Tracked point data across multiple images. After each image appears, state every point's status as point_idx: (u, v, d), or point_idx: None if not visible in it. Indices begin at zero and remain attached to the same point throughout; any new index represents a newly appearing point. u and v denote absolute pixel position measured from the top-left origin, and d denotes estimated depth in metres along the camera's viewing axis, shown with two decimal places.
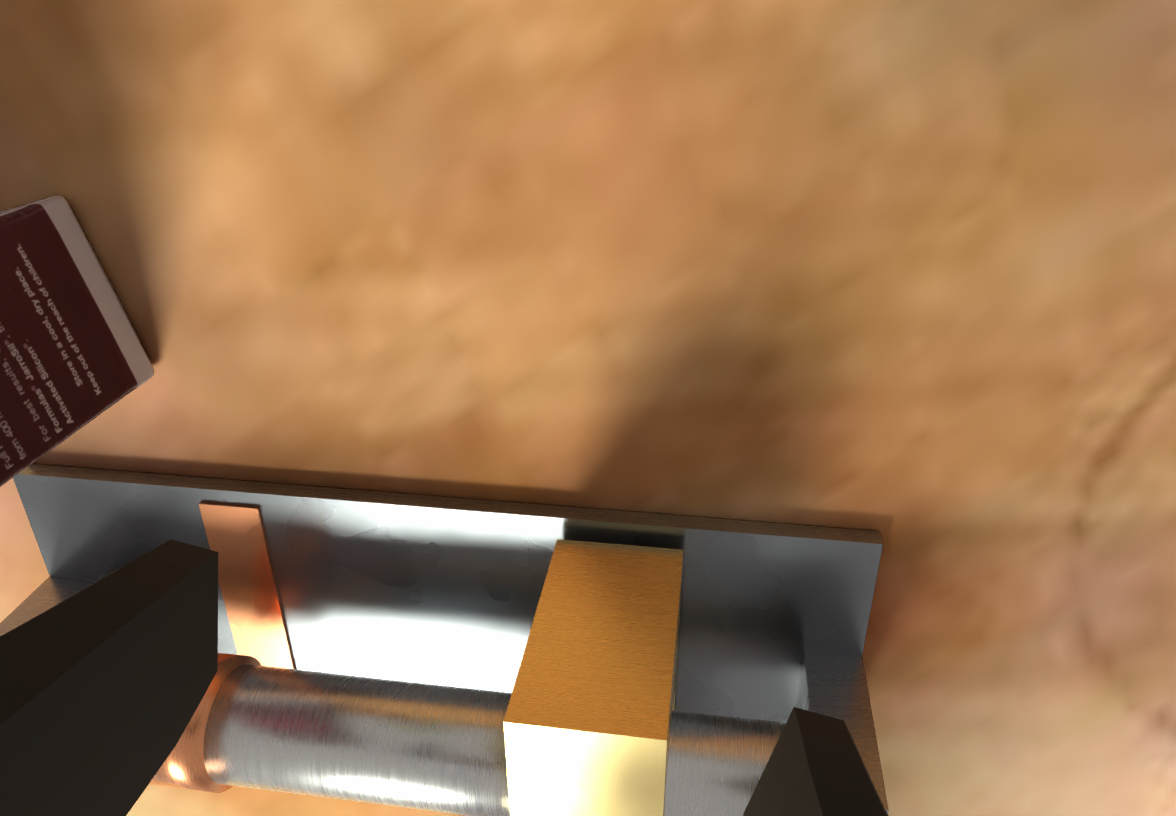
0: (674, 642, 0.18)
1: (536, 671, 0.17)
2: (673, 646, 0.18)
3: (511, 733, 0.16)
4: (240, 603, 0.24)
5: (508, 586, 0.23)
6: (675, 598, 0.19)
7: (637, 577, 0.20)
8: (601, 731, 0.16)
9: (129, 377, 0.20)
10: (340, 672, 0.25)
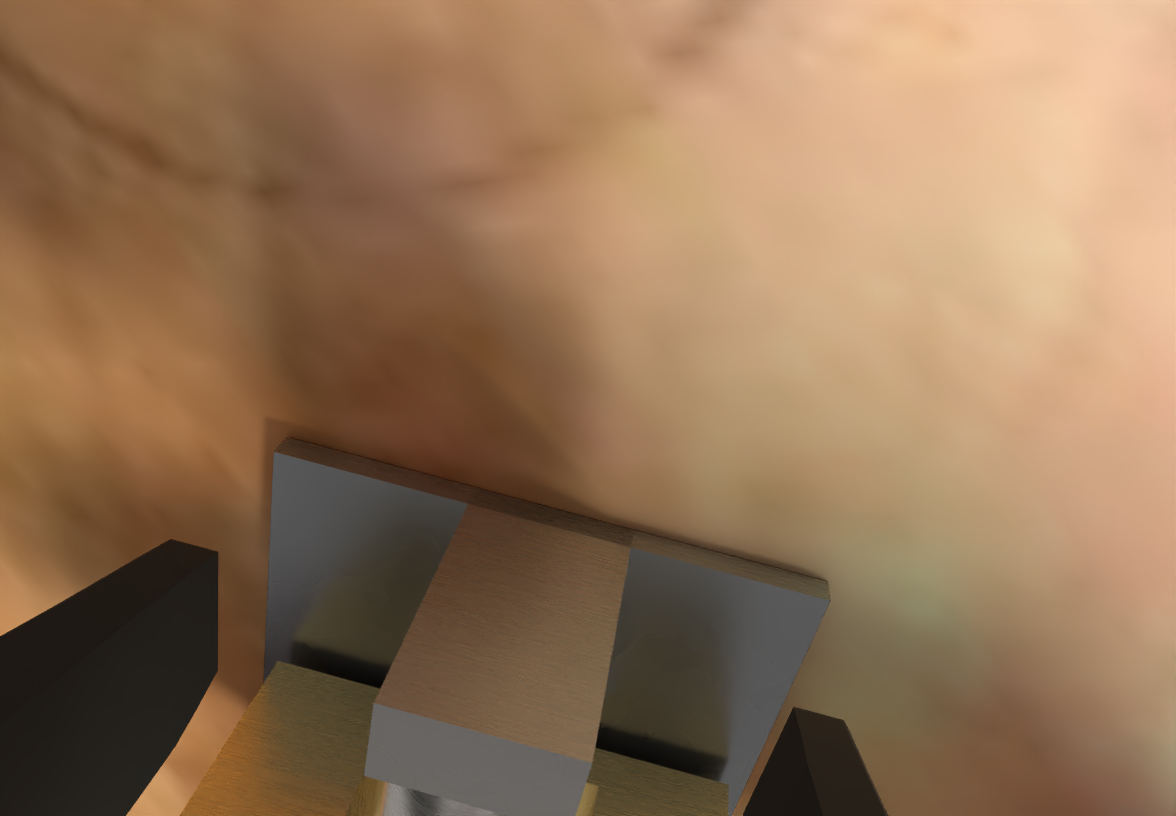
0: (190, 799, 0.14)
1: None
2: None
3: None
4: None
5: None
6: (231, 735, 0.15)
7: None
8: None
9: None
10: None
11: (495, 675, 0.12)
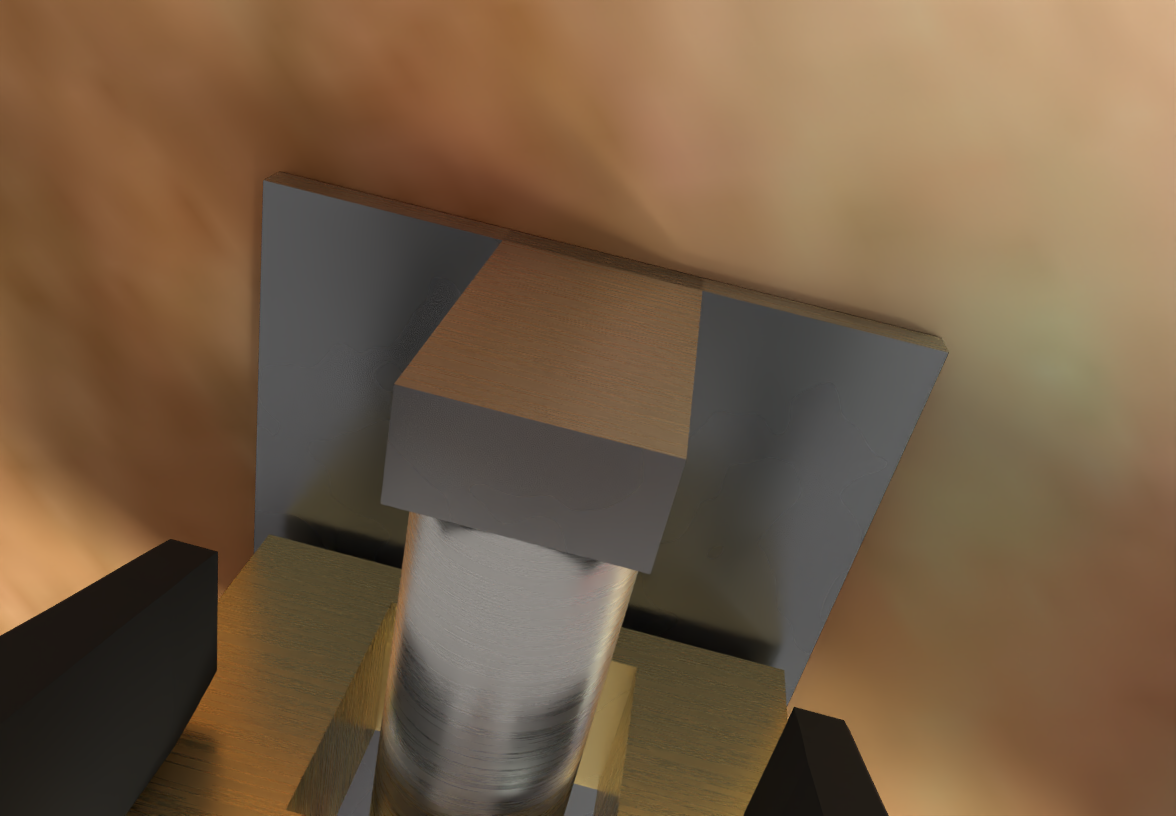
0: None
1: None
2: None
3: None
4: None
5: None
6: None
7: None
8: None
9: None
10: None
11: (550, 375, 0.09)
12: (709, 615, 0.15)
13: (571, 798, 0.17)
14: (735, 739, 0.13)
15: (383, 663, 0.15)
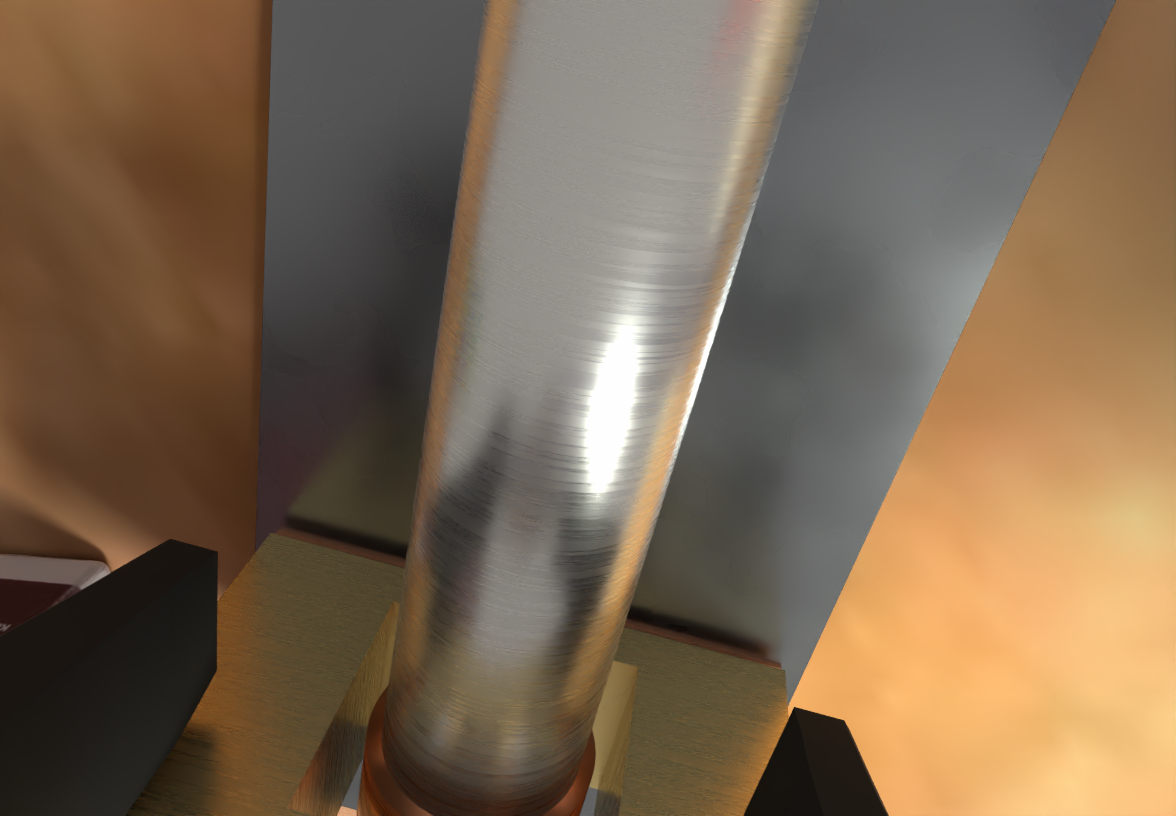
0: None
1: None
2: None
3: None
4: None
5: (427, 198, 0.12)
6: (217, 605, 0.13)
7: None
8: None
9: (55, 589, 0.16)
10: None
11: None
12: (930, 29, 0.10)
13: (697, 396, 0.13)
14: (736, 739, 0.13)
15: (384, 662, 0.15)
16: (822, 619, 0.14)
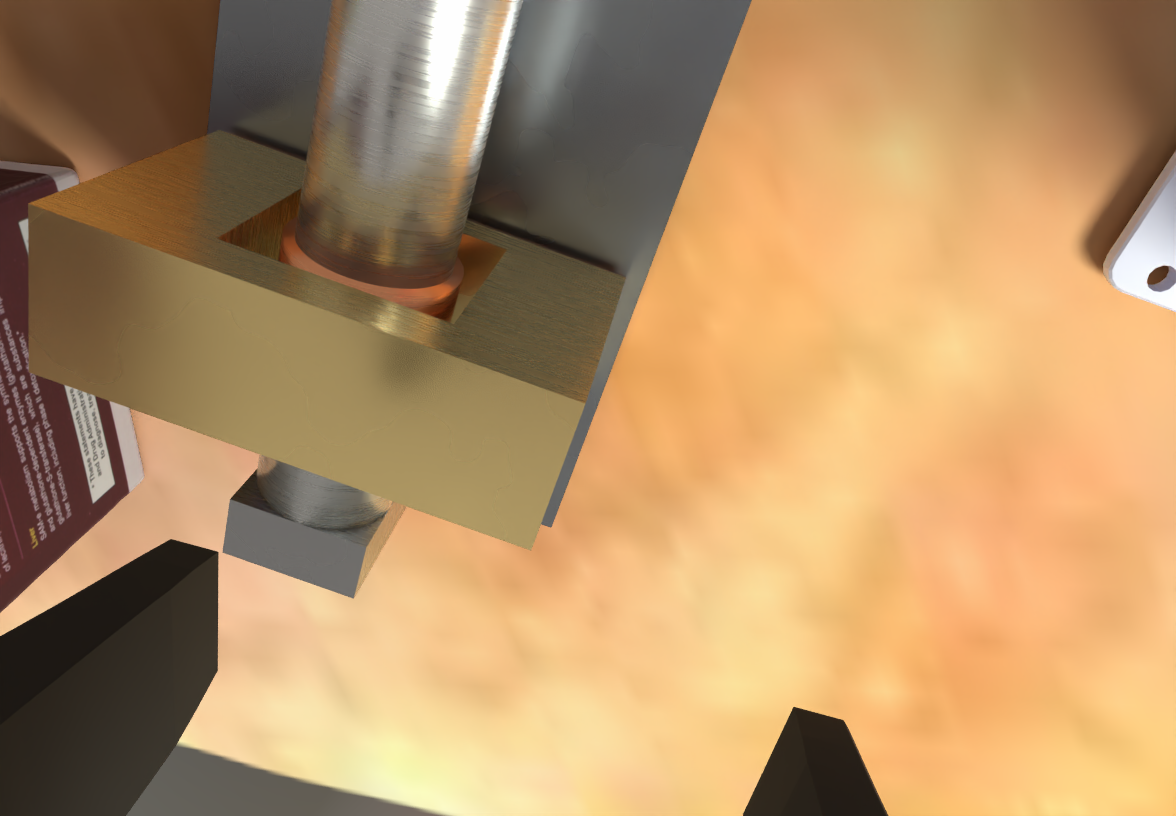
0: (129, 165, 0.15)
1: None
2: (123, 167, 0.15)
3: (45, 370, 0.15)
4: None
5: None
6: (171, 152, 0.17)
7: None
8: None
9: (32, 174, 0.19)
10: (493, 162, 0.18)
11: None
12: None
13: (568, 11, 0.16)
14: (575, 293, 0.17)
15: None
16: (658, 232, 0.18)
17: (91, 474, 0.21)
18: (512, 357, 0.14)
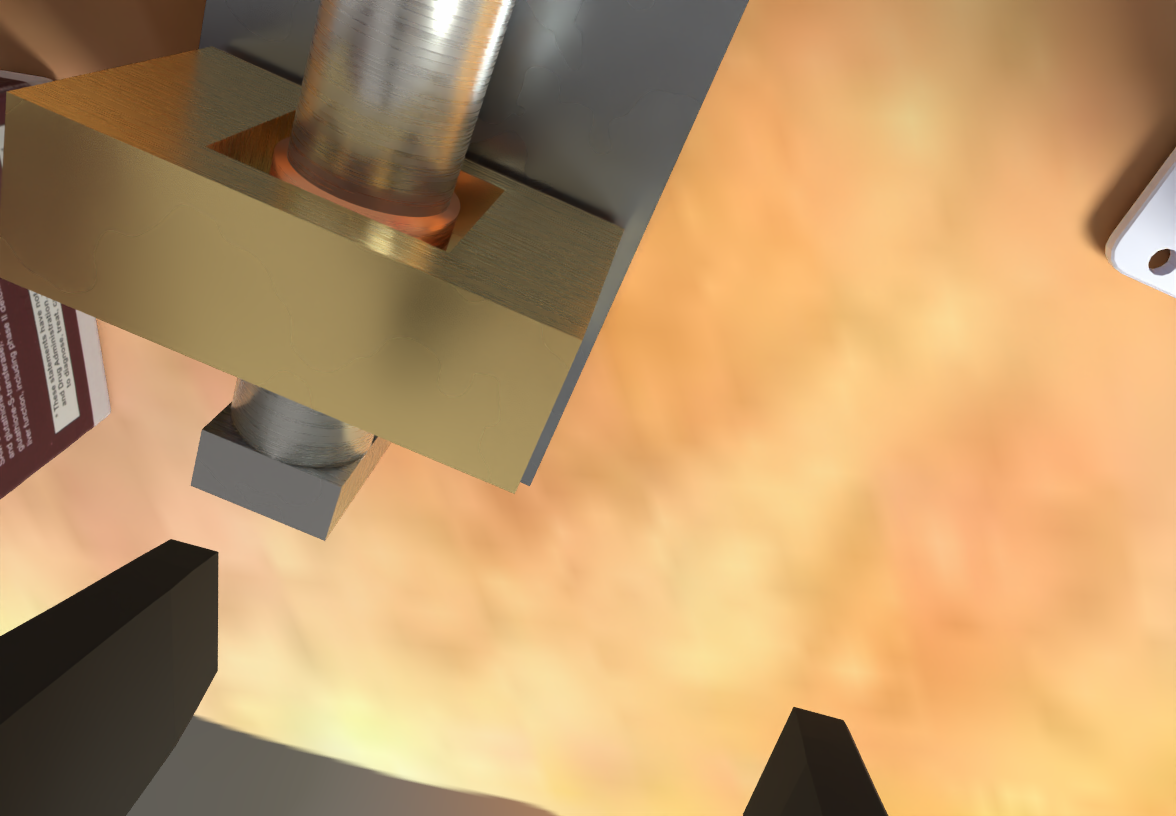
0: (116, 68, 0.15)
1: None
2: (109, 70, 0.15)
3: (14, 275, 0.14)
4: None
5: None
6: (160, 61, 0.16)
7: None
8: None
9: (10, 80, 0.18)
10: (496, 100, 0.17)
11: None
12: None
13: None
14: (573, 237, 0.16)
15: None
16: (661, 184, 0.18)
17: (55, 403, 0.21)
18: (508, 290, 0.13)
